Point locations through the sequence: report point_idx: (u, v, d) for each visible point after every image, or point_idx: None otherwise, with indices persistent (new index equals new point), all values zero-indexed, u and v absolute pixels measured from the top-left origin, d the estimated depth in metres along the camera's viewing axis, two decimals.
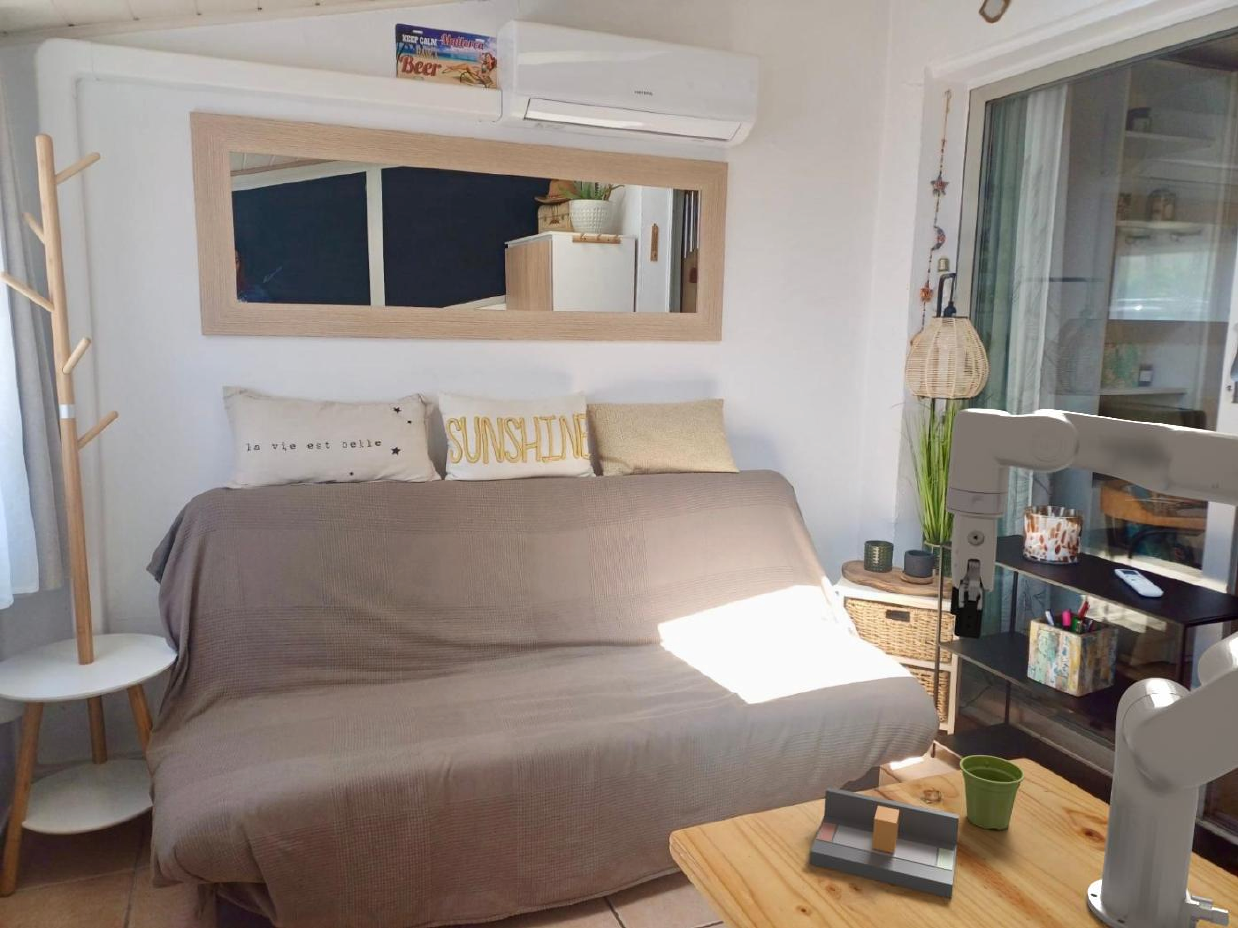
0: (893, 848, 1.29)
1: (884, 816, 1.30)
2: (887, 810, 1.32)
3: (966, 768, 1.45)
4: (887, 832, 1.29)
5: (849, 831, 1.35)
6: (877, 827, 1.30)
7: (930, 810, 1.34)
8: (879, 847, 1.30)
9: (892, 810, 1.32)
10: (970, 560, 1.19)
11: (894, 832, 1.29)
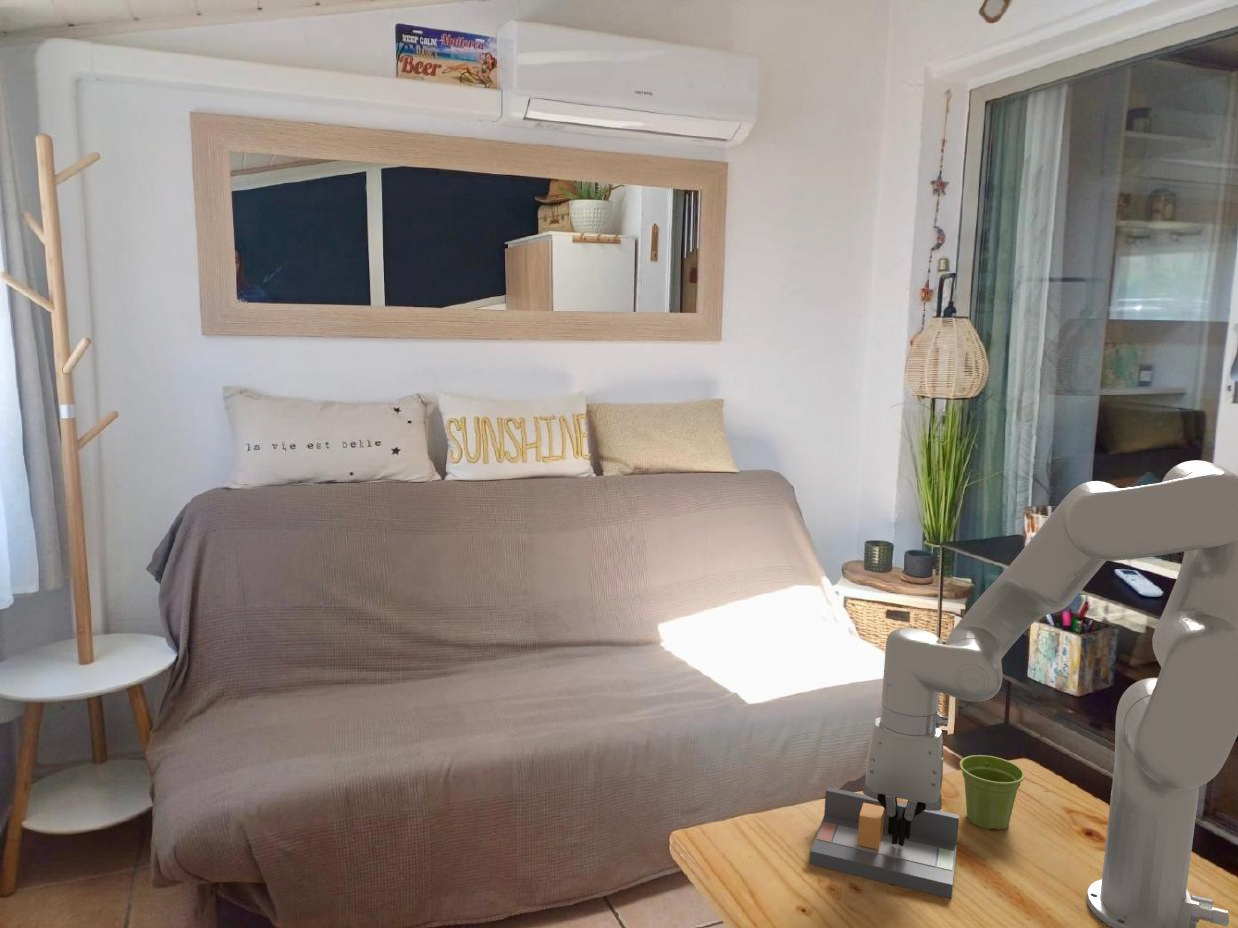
0: (878, 845, 1.30)
1: (870, 813, 1.31)
2: (873, 807, 1.33)
3: (966, 768, 1.45)
4: (872, 828, 1.30)
5: (849, 831, 1.35)
6: (862, 824, 1.31)
7: None
8: (864, 844, 1.31)
9: (878, 807, 1.33)
10: None
11: (879, 829, 1.30)
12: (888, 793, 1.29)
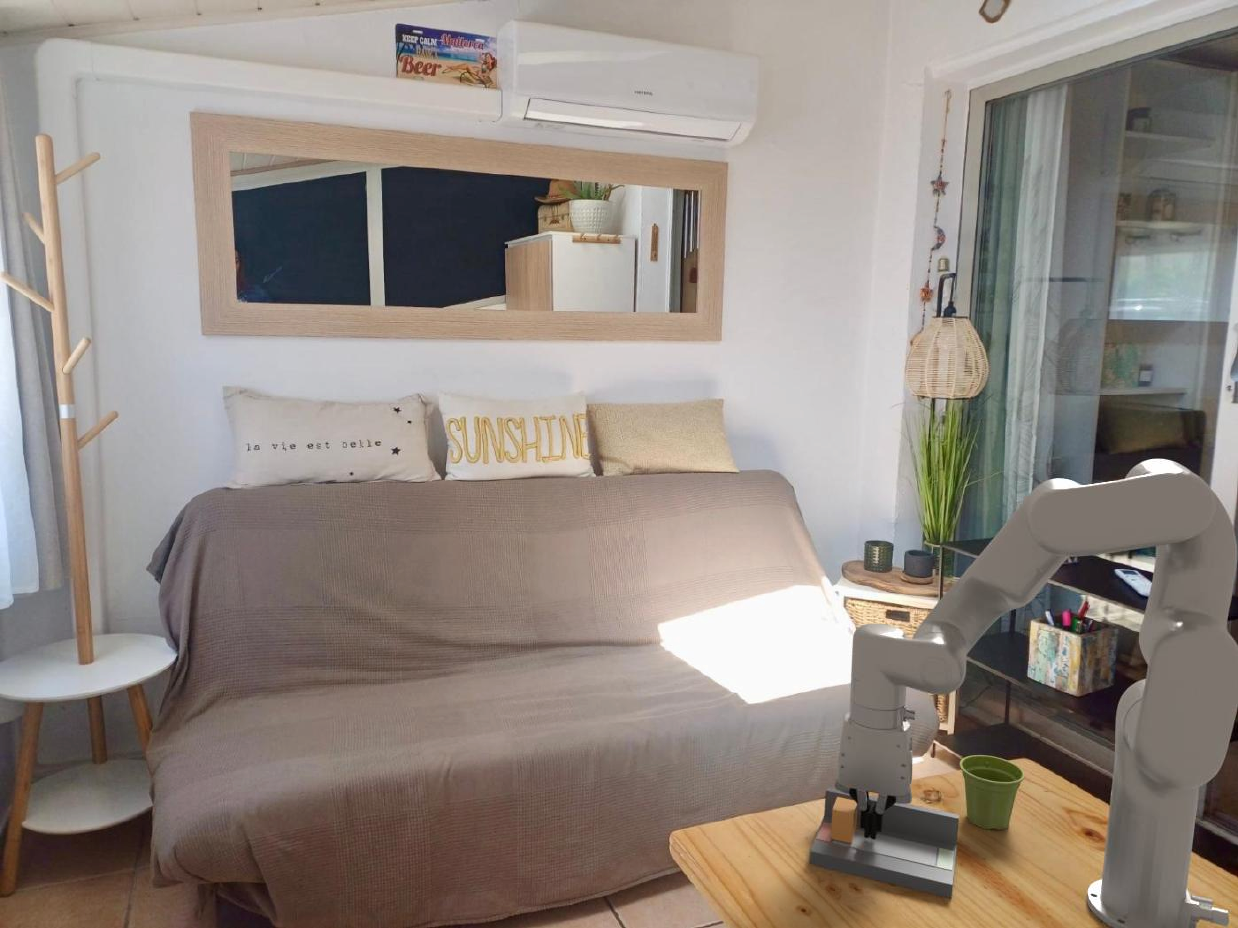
0: (851, 838, 1.32)
1: (843, 807, 1.33)
2: (846, 801, 1.34)
3: (966, 768, 1.45)
4: (845, 822, 1.32)
5: None
6: (835, 818, 1.32)
7: (930, 810, 1.34)
8: (837, 837, 1.32)
9: (851, 801, 1.34)
10: None
11: (852, 823, 1.31)
12: (859, 787, 1.30)
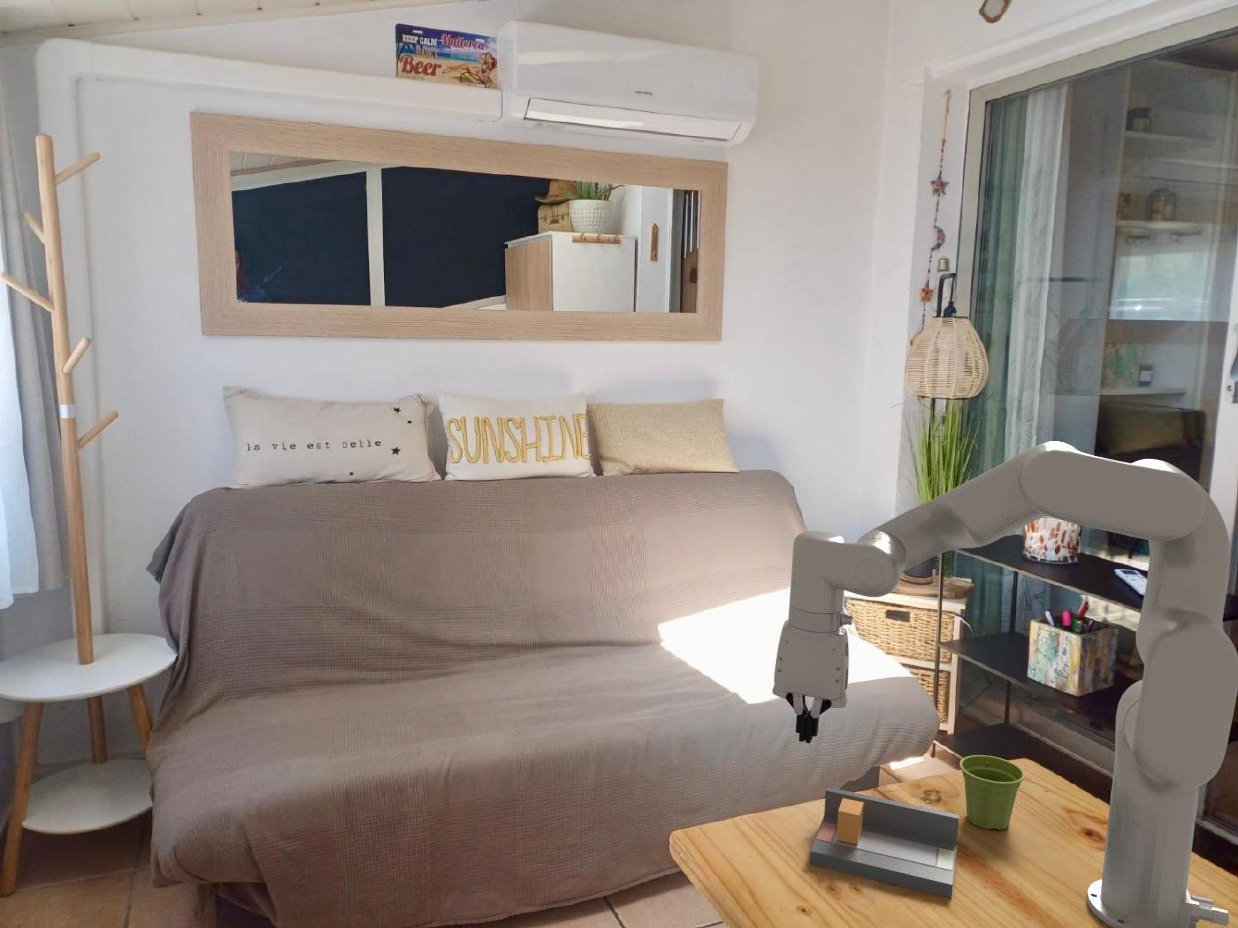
0: (857, 840, 1.31)
1: (848, 809, 1.32)
2: (852, 802, 1.34)
3: (966, 768, 1.45)
4: (850, 823, 1.31)
5: None
6: (841, 819, 1.32)
7: (930, 810, 1.34)
8: (843, 839, 1.32)
9: (857, 802, 1.34)
10: None
11: (857, 824, 1.31)
12: (795, 691, 1.32)
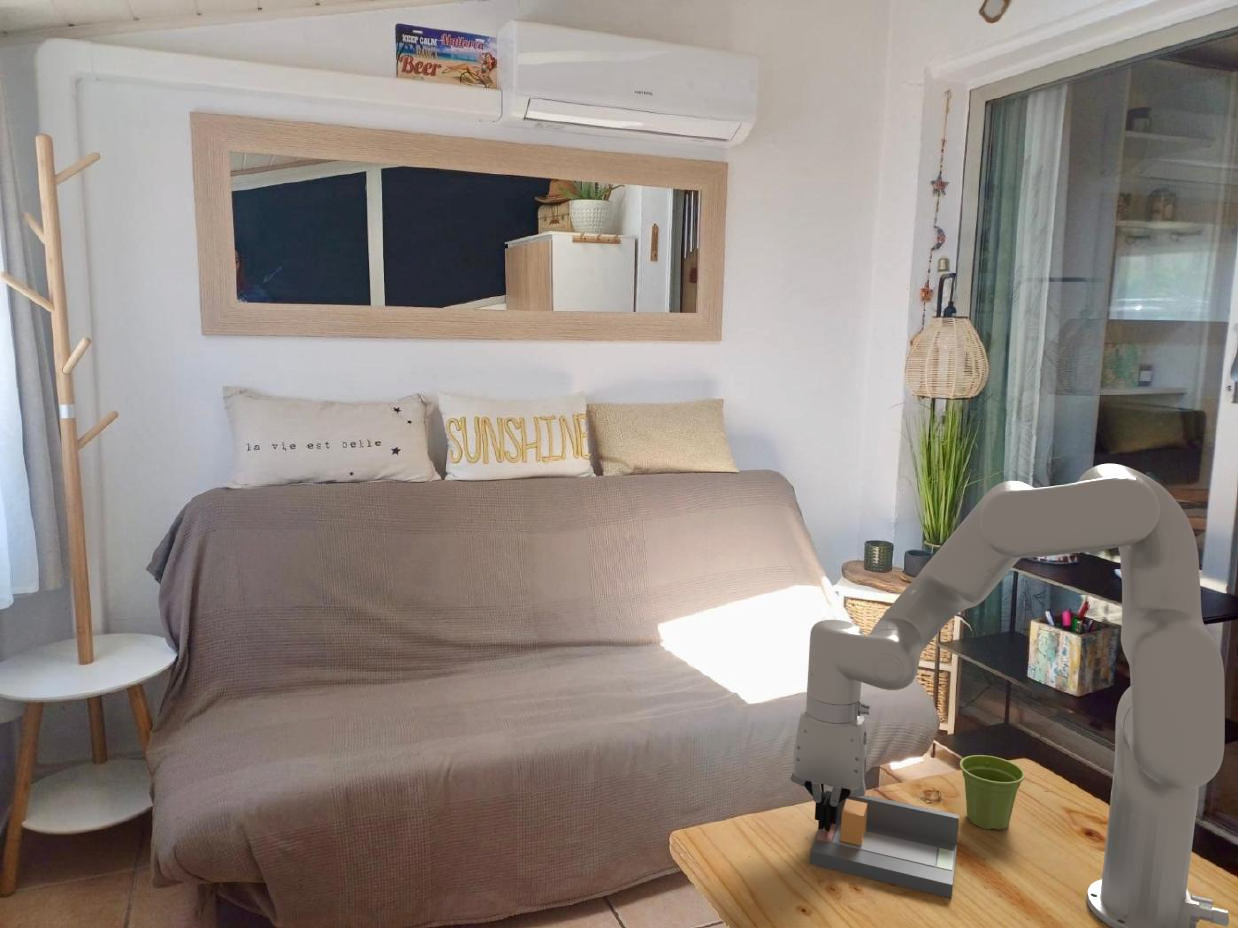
0: (860, 841, 1.31)
1: (852, 809, 1.32)
2: (856, 803, 1.34)
3: (966, 768, 1.45)
4: (854, 824, 1.31)
5: None
6: (845, 820, 1.32)
7: (930, 810, 1.34)
8: (847, 840, 1.32)
9: (860, 803, 1.34)
10: None
11: (861, 825, 1.31)
12: (814, 780, 1.33)
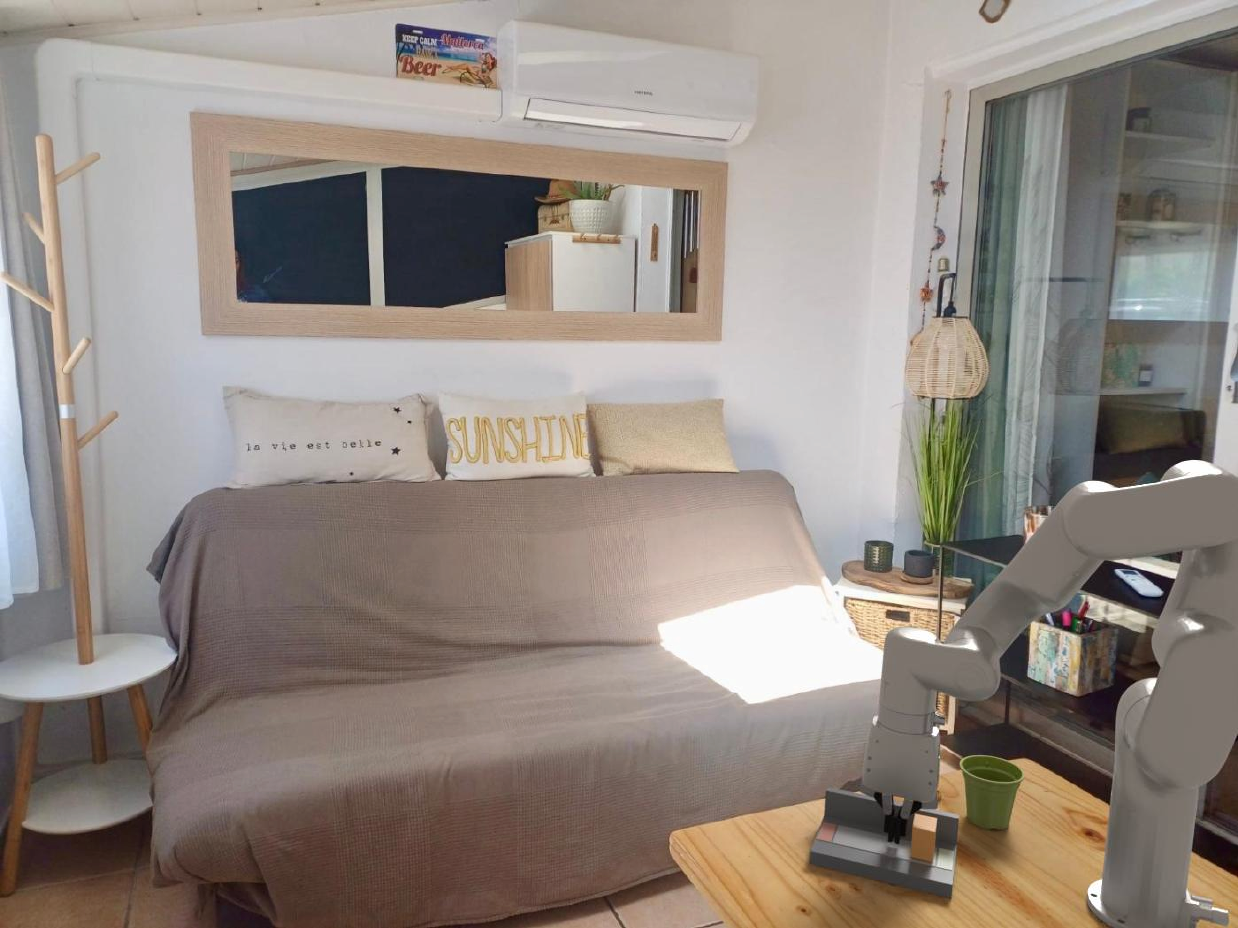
0: (932, 857, 1.27)
1: (923, 825, 1.28)
2: (925, 818, 1.30)
3: (966, 768, 1.45)
4: (925, 840, 1.27)
5: (849, 831, 1.35)
6: (915, 836, 1.28)
7: (930, 810, 1.34)
8: (917, 856, 1.28)
9: (930, 818, 1.30)
10: None
11: (933, 841, 1.27)
12: (884, 791, 1.29)
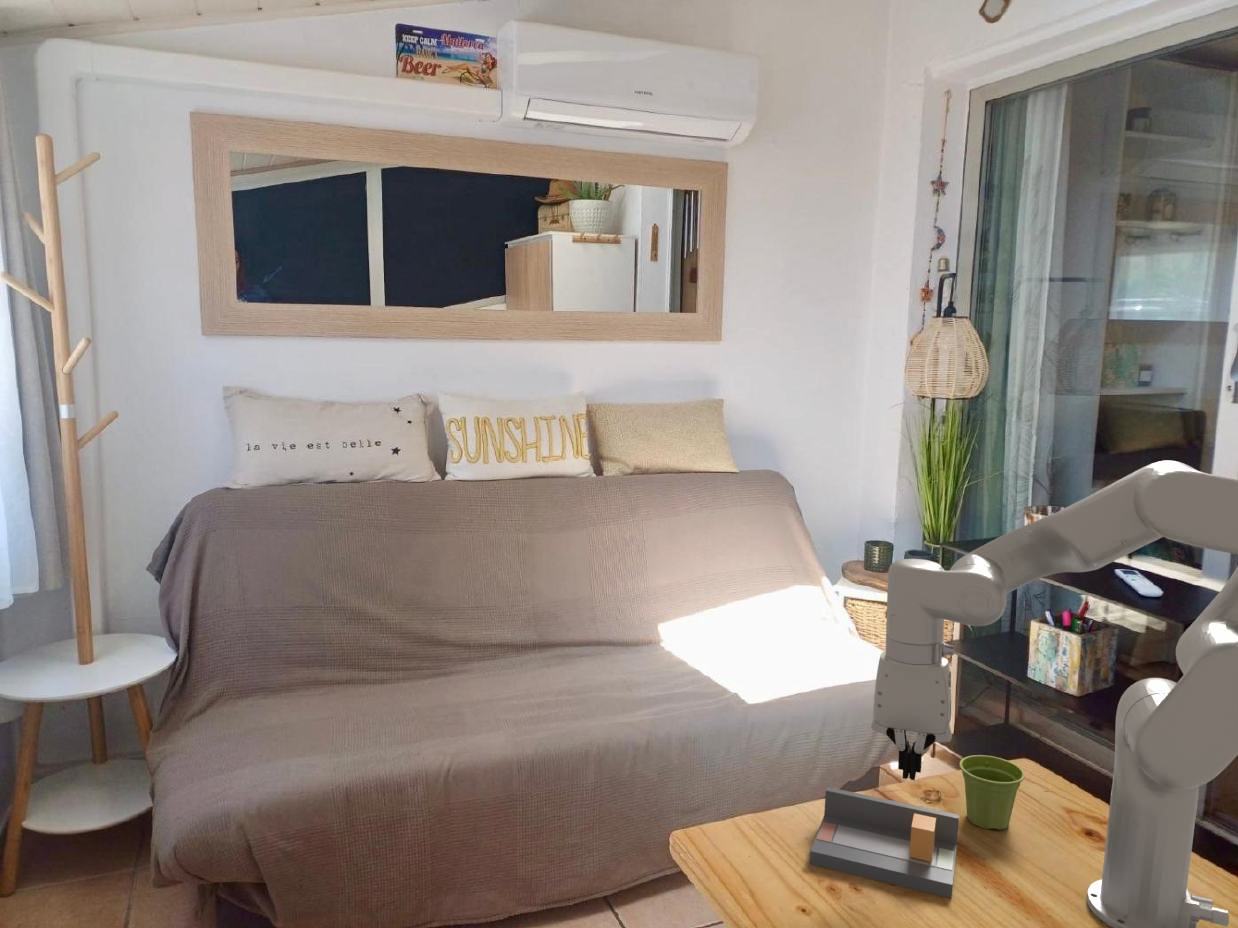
0: (931, 857, 1.27)
1: (922, 825, 1.28)
2: (924, 818, 1.30)
3: (966, 768, 1.45)
4: (924, 840, 1.27)
5: (849, 831, 1.35)
6: (914, 835, 1.28)
7: (930, 810, 1.34)
8: (916, 856, 1.28)
9: (929, 818, 1.30)
10: None
11: (932, 840, 1.27)
12: (897, 726, 1.27)
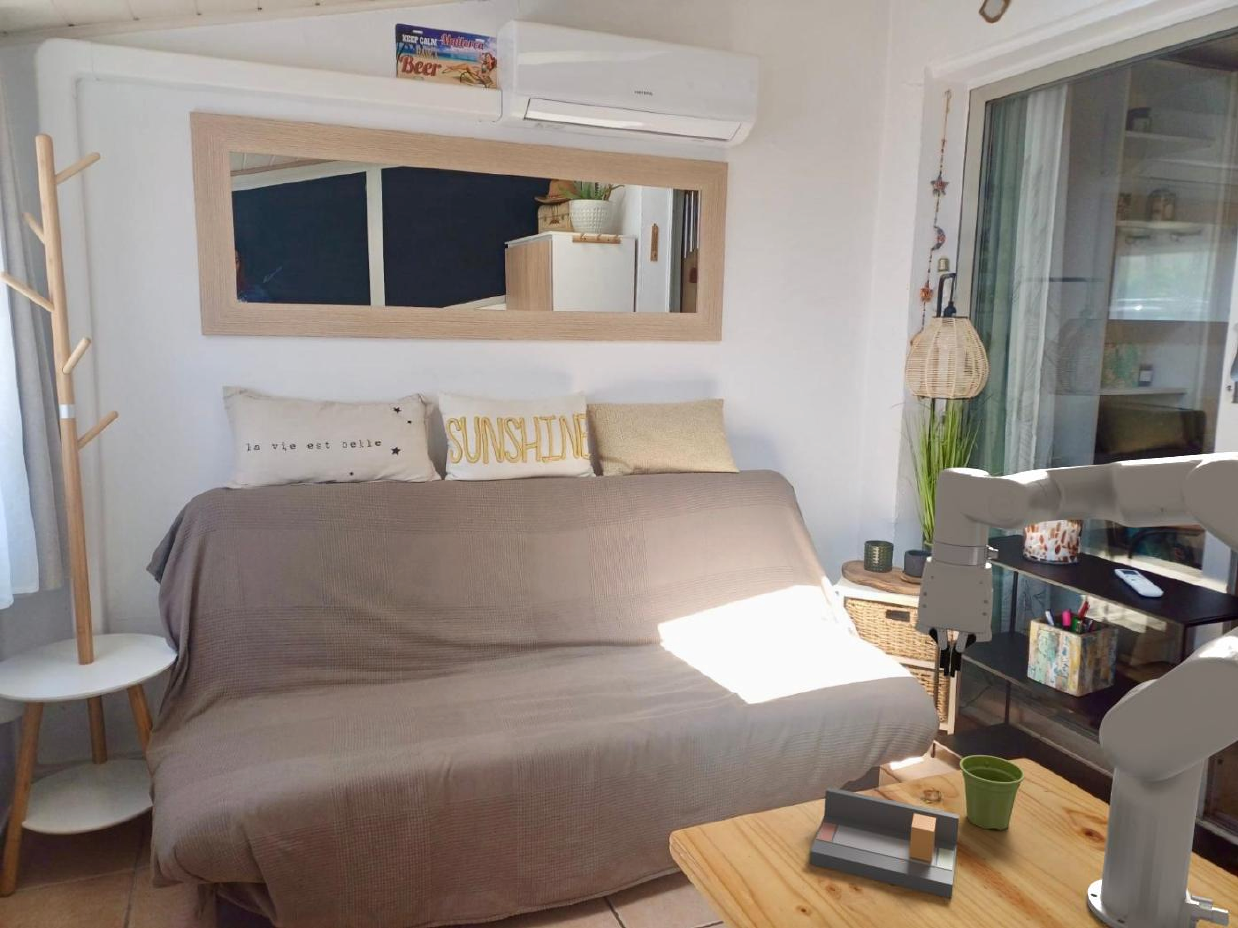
0: (931, 857, 1.27)
1: (922, 825, 1.28)
2: (924, 818, 1.30)
3: (966, 768, 1.45)
4: (924, 840, 1.27)
5: (849, 831, 1.35)
6: (914, 835, 1.28)
7: (930, 810, 1.34)
8: (916, 856, 1.28)
9: (929, 818, 1.30)
10: None
11: (932, 840, 1.27)
12: (940, 626, 1.34)
